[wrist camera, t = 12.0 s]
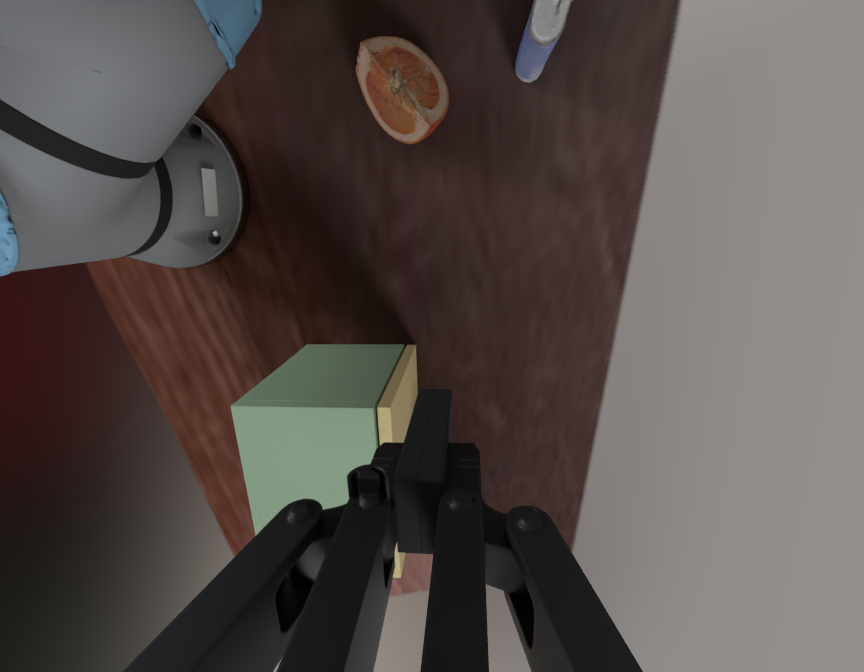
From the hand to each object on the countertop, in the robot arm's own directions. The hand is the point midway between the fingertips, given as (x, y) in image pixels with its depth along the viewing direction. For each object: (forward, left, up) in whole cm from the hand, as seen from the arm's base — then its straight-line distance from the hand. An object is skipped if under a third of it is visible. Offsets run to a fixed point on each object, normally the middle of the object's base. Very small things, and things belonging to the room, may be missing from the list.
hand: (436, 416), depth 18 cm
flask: (+8, +24, -25) cm, 35 cm away
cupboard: (-11, -12, -24) cm, 30 cm away
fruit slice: (-4, +19, -25) cm, 31 cm away
